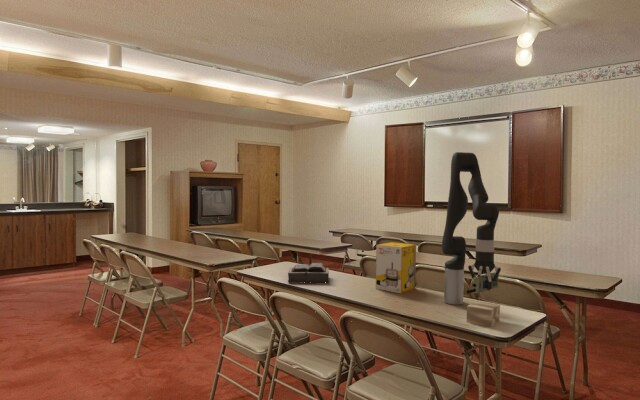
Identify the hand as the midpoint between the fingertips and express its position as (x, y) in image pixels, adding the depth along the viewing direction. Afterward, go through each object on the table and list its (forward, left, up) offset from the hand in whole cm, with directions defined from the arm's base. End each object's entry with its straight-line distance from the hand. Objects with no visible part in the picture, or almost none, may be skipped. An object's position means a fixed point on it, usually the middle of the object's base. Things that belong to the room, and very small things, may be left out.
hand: (483, 289), depth 194 cm
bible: (-45, -102, -14) cm, 112 cm away
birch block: (0, 0, -14) cm, 14 cm away
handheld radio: (0, -1, -1) cm, 1 cm away
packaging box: (-45, -48, -14) cm, 68 cm away
